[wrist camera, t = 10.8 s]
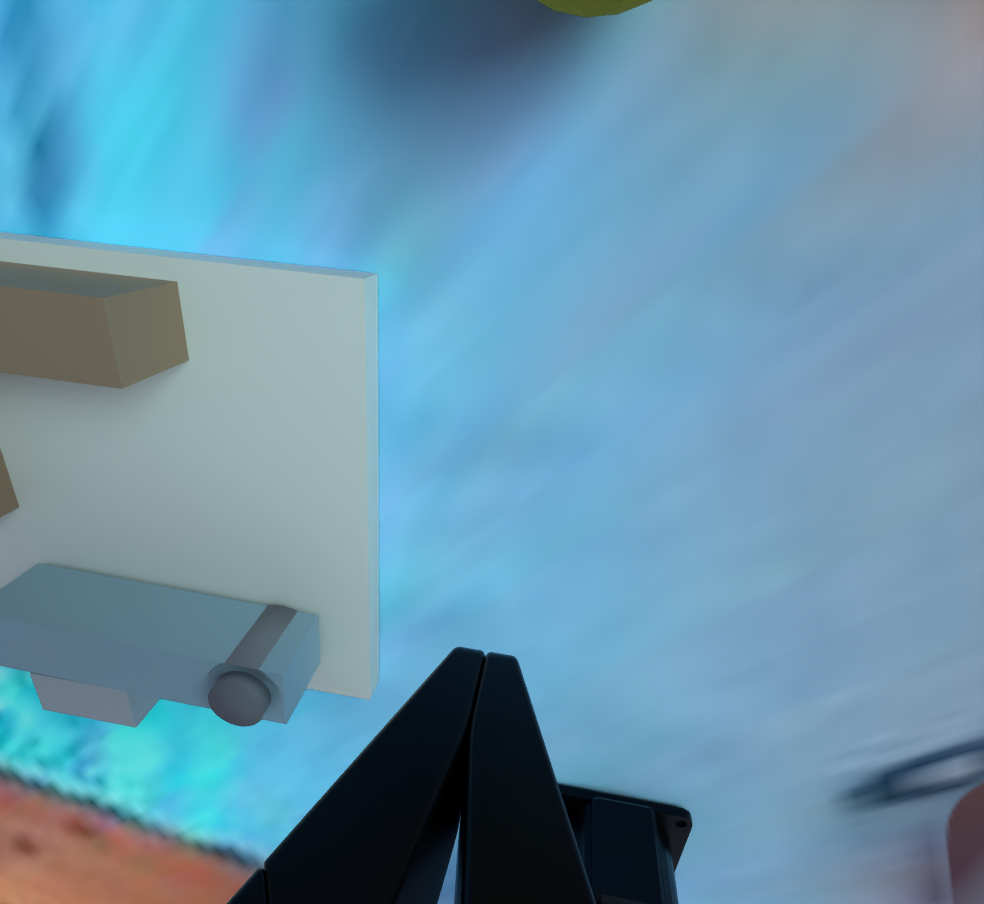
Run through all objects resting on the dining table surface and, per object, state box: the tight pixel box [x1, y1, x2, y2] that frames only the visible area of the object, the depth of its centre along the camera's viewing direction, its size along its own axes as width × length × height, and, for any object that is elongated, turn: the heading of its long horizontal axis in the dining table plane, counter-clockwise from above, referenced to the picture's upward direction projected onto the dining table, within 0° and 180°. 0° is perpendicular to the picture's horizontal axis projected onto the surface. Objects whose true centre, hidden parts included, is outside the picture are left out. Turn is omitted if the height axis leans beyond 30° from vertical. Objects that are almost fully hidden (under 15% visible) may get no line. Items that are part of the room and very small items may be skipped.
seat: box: [0, 232, 379, 727], centre depth 20 cm, size 18×17×4 cm
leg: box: [0, 563, 321, 726], centre depth 21 cm, size 12×3×4 cm, turn 84°
